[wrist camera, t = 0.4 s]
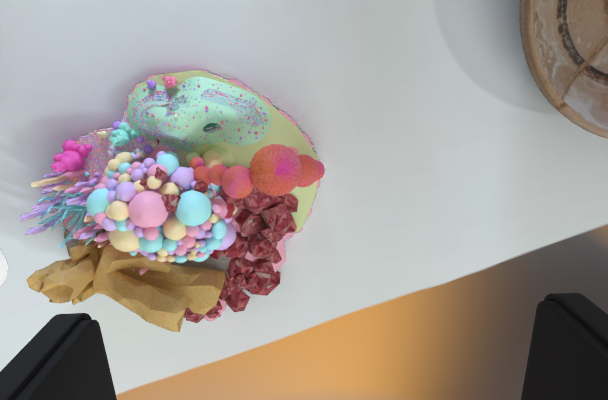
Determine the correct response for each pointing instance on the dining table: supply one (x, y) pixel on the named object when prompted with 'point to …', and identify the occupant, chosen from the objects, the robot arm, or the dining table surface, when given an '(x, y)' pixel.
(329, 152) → the dining table surface
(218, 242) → the pastel sphere sculpture
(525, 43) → the ceramic bowl
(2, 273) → the champagne flute
